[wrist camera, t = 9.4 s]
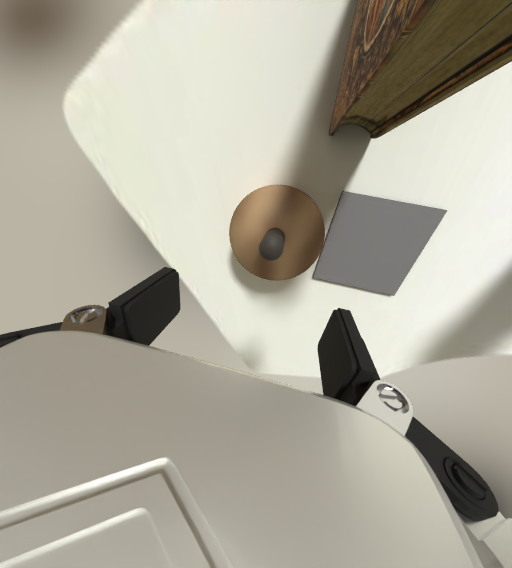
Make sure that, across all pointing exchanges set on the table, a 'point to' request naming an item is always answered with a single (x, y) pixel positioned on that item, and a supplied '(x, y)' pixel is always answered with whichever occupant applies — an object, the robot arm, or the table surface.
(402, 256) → the mat
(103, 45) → the table surface
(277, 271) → the lid
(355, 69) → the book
